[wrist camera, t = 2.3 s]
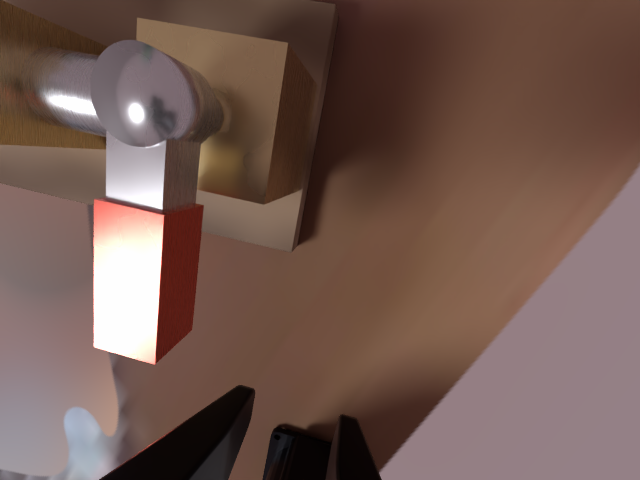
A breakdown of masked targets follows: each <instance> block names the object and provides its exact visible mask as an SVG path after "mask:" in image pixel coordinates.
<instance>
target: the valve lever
mask: <svg viewBox="0 0 640 480" xmlns="http://www.w3.org/2000/svg"><path fill="white" fill-rule="evenodd" d="M90 89H91V98H92V103H93V107H94V109H95V112H96V114H97V116H98V118H99V120H100V122H101V123H102V125H103V126H104V127H105V129H106V197H105V198H98V199H94V347H96V348H100V349H103V350H107V351H110V352H114V353H117V354H120V355H124V356H127V357H131V358H134V359H138V360H141V361H144V362H148V363H151V364H156V363H157V362H158V361H159V360H160V359H161V358H162V357H163V356H164V355H166V354H167V353H168V352H169V351H170V350H171V349H172V348H173V347H174V346H175V345H176V344H177V343H178V342H179V341H181V340H182V339H183V338H184V337H185V336H186V335H187V334H188V333H189V332H190V331H191V330H192V325H193V315H194V304H195V294H196V283H197V273H198V262H199V252H200V241H201V231H202V220H203V210H204V205H201V204H196V194H197V182H198V171H199V159H200V148H201V144H202V143H203V142H204V141H206V140H207V138H208V137H209V136H210V134H211V133H212V131H213V129H214V126H215V123H216V118H217V103H216V98H215V95H214V92H213V90H212V88H211V86H210V84H209V82H208V81H207V80H206V78H205V77H204V76H203V75H202V74H201V73H199V72H198V71H197V70H195V69H194V68H192V67H190V66H188V65H186V64H184V63H182V62H181V61H179V60H177V59H175V58H173V57H171V56H169V55H167V54H165V53H164V52H162V51H160V50H158V49H156V48H154V47H152V46H150V45H148V44H146V43H144V42H141V41H137V40H123V41H119V42H116V43H114V44H112V45H110V46H109V47H108V48H106V49H105V50H104V51H103V52H102V53H101V55H100V56H99V58H98V59H97V61H96V63H95V65H94V68H93V71H92V75H91V84H90Z"/></svg>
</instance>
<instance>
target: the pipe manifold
mask: <svg viewBox="0 0 640 480" xmlns="http://www.w3.org/2000/svg"><path fill="white" fill-rule="evenodd" d="M136 40H137V41H141V42H144V43H146V44H148V45H150V46H152V47H154V48H156V49H158V50H160V51H162V52H164V53H165V54H167V55H169V56H171V57H173V58H175V59H177V60H179V61H181V62H182V63H184V64H186V65H188V66H190V67H192V68H194V69H195V70H197V71H198V72H199V73H201V74H202V75H203V76H204V77H205V78H206V80H207V81H208V82H209V84H210V86H211V88H212V90H213V92H214V95H215V98H216V103H217V118H216V123H215V126H214V129H213V131H212V133H211V134H210V136H209V137H208V138H207V140H206V141H204V142H203V143H202V144H201V148H200V159H199V171H198V182H197V190H200V191H205V192H209V193H214V194H218V195H223V196H227V197H232V198H236V199H241V200H245V201H249V202H254V203H258V204H263V205H265V204H268V203H270V202H273V201H275V200H278V199H280V198H283V197H285V196H288V195H290V194H293V193H295V192H298V191H299V187H300V181H301V176H302V170H303V164H304V159H305V153H306V147H307V142H308V136H309V130H310V125H311V119H312V113H313V107H314V102H315V96H316V90H317V84H316V82H315V81H314V79H313V78H312V76H311V75H310V74H309V72H308V71H307V69H306V68H305V66H304V65H303V63H302V62H301V61H300V59H299V58H298V56H297V55H296V53H295V52H294V51H293V49H292V48H291V46H290V45H289V43H286V42H280V41H274V40H268V39H262V38H256V37H250V36H244V35H238V34H232V33H226V32H221V31H215V30H209V29H203V28H197V27H191V26H185V25H179V24H173V23H167V22H161V21H155V20H149V19H143V18H137V35H136ZM106 48H108V47H107V46H105V45H103V44H101V43H98V42H96V41H94V40H91V39H89V38H87V37H85V36H82V35H80V34H78V33H75V32H73V31H71V30H69V29H66V28H64V27H62V26H60V25H57V24H55V23H53V22H50V21H48V20H46V19H44V18H41V17H39V16H37V15H34V14H32V13H30V12H28V11H25V10H23V9H21V8H18V7H16V6H14V5H12V4H9V3H7V2H5V1H3V0H0V145H19V146H40V147H61V148H82V149H103V150H106V129H105V127H104V126H103V125H102V123H101V122H100V120H99V118H98V116H97V114H96V112H95V109H94V107H93V103H92V98H91V89H90V84H91V75H92V71H93V68H94V65H95V63H96V61H97V59H98V58H99V56H100V55H101V53H102V52H103V51H104V50H105V49H106Z"/></svg>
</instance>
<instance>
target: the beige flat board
mask: <svg viewBox="0 0 640 480" xmlns="http://www.w3.org/2000/svg"><path fill="white" fill-rule="evenodd" d="M3 1H5V2H7V3H9V4H12V5H14V6H16V7H18V8H21V9H23V10H25V11H28V12H30V13H32V14H34V15H37V16H39V17H41V18H44V19H46V20H48V21H50V22H53V23H55V24H57V25H60V26H62V27H64V28H66V29H69V30H71V31H73V32H75V33H78V34H80V35H82V36H85V37H87V38H89V39H91V40H94V41H96V42H98V43H101V44H103V45H105V46H107V47H109V46H110V45H112V44H114V43H116V42H119V41H123V40H136V35H137V18H143V19H149V20H155V21H161V22H167V23H173V24H179V25H185V26H191V27H197V28H203V29H209V30H215V31H221V32H226V33H232V34H238V35H244V36H250V37H256V38H262V39H268V40H274V41H280V42H286V43H289V45H290V46H291V48H292V49H293V51H294V52H295V53H296V55H297V56H298V58H299V59H300V61H301V62H302V63H303V65H304V66H305V68H306V69H307V71H308V72H309V74H310V75H311V76H312V78H313V79H314V81H315V82H316V84H317V90H316V96H315V102H314V107H313V113H312V119H311V125H310V130H309V136H308V142H307V147H306V153H305V159H304V164H303V170H302V176H301V181H300V187H299V191H298V192H295V193H293V194H290V195H288V196H285V197H283V198H280V199H278V200H275V201H273V202H270V203H268V204H265V205H263V204H258V203H254V202H249V201H245V200H241V199H236V198H232V197H227V196H223V195H218V194H214V193H209V192H205V191H200V190H197V194H196V204H201V205H204V210H203V220H202V231H203V232H207V233H211V234H215V235H219V236H224V237H228V238H232V239H236V240H240V241H244V242H249V243H253V244H257V245H261V246H265V247H270V248H274V249H278V250H282V251H286V252H292V251H293V250H294V249H295V248H296V247H297V244H298V238H299V233H300V227H301V222H302V216H303V211H304V205H305V200H306V194H307V189H308V183H309V178H310V172H311V167H312V162H313V156H314V151H315V145H316V140H317V134H318V129H319V123H320V118H321V112H322V107H323V101H324V96H325V90H326V85H327V79H328V74H329V69H330V63H331V58H332V52H333V47H334V41H335V36H336V30H337V25H338V19H339V16H338V12H337V8H336V4H331V3H325V2H318V1H312V0H3ZM0 183H2V184H6V185H10V186H14V187H18V188H23V189H27V190H31V191H35V192H40V193H44V194H48V195H52V196H56V197H60V198H64V199H69V200H73V201H77V202H81V203H85V204H90V205H94V199H98V198H105V197H106V150H103V149H82V148H61V147H40V146H19V145H0Z"/></svg>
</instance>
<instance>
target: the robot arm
mask: <svg viewBox="0 0 640 480" xmlns="http://www.w3.org/2000/svg"><path fill="white" fill-rule="evenodd" d="M254 398H255V390H254V389H253V388H250V387H246V386H243V385H238V386H236V387H235V388H233V389H232V390H230V391H229V392H227V393H226V394H225V395H223V396H222V397H220V398H219V399H217V400H216V401H214V402H213V403H211V404H210V405H208V406H207V407H205V408H204V409H202V410H201V411H199V412H198V413H197V414H195V415H194V416H192V417H191V418H189V419H188V420H186V421H185V422H183V423H182V424H180V425H179V426H177V427H176V428H174V429H173V430H172V431H170V432H169V433H167V434H166V435H164V436H163V437H161V438H160V439H158V440H157V441H155V442H154V443H152V444H151V445H149V446H148V447H146V448H145V449H144V450H142V451H141V452H139V453H138V454H136V455H135V456H133V457H132V458H130V459H129V460H127V461H126V462H124V463H123V464H121V465H120V466H118V467H117V468H116V469H114V470H113V471H111V472H110V473H108V474H107V475H105V476H104V477H102V478H101V479H99V480H228V478H229V476H230V473H231V471H232V468H233V465H234V463H235V460H236V458H237V455H238V452H239V450H240V447H241V445H242V442H243V439H244V437H245V434H246V432H247V429H248V426H249V423H250V420H251V416H252V410H253V404H254ZM278 435H279V436H278ZM263 480H381V477H380V475H379V472H378V470H377V467H376V465H375V462H374V460H373V457H372V455H371V452H370V450H369V447H368V445H367V442H366V440H365V437H364V435H363V432H362V430H361V427H360V425H359V422H358V420H357V419H356V418H354V417H350V416H347V415H344V414H341V415H340V416H339V418H338V422H337V426H336V429H335V433H334V437H333V441H332V443H329V442H325V441H322V440H319V439H315V438H312V437H309V436H305V435H302V434H299V433H295V432H292V431H289V430H285V429H282V428H275V429H273V432H272V434H271V438H270V443H269V449H268V454H267V459H266V464H265V470H264V475H263Z"/></svg>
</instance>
